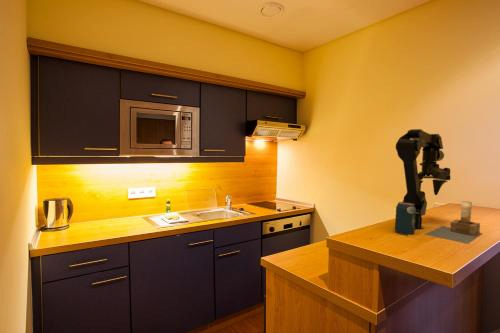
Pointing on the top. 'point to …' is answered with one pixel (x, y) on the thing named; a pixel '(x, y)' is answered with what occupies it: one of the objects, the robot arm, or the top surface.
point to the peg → (466, 212)
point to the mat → (452, 235)
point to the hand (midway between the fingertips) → (427, 194)
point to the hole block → (465, 228)
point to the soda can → (405, 218)
